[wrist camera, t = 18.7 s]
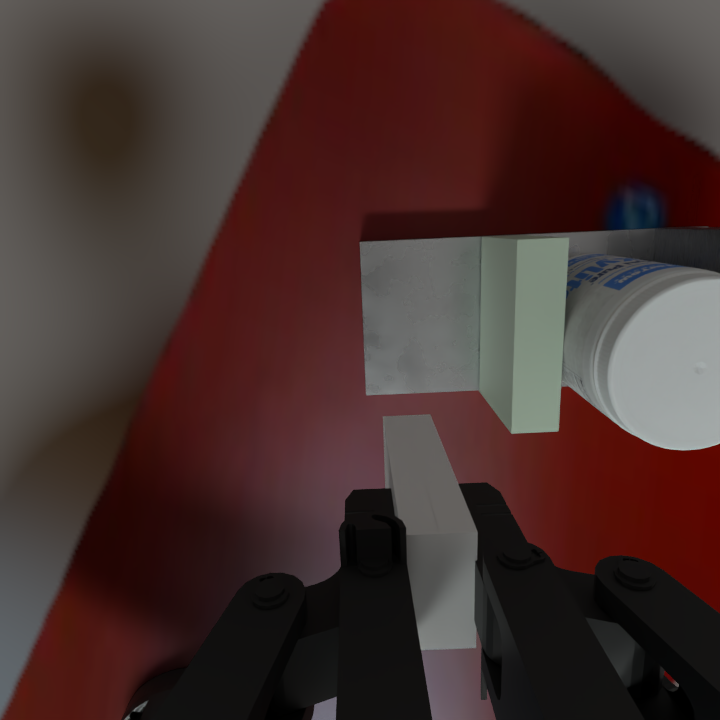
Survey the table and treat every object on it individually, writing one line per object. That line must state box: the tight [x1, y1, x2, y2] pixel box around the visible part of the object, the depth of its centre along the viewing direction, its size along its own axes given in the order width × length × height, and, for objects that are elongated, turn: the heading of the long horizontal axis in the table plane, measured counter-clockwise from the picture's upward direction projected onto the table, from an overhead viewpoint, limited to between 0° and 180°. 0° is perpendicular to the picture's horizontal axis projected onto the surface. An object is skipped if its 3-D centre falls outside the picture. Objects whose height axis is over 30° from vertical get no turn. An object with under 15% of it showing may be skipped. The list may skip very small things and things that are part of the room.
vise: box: [360, 226, 720, 395], centre depth 37 cm, size 26×12×11 cm, turn 92°
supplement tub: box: [561, 253, 720, 450], centre depth 33 cm, size 10×10×15 cm
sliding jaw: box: [479, 235, 569, 433], centre depth 36 cm, size 3×12×9 cm, turn 2°
